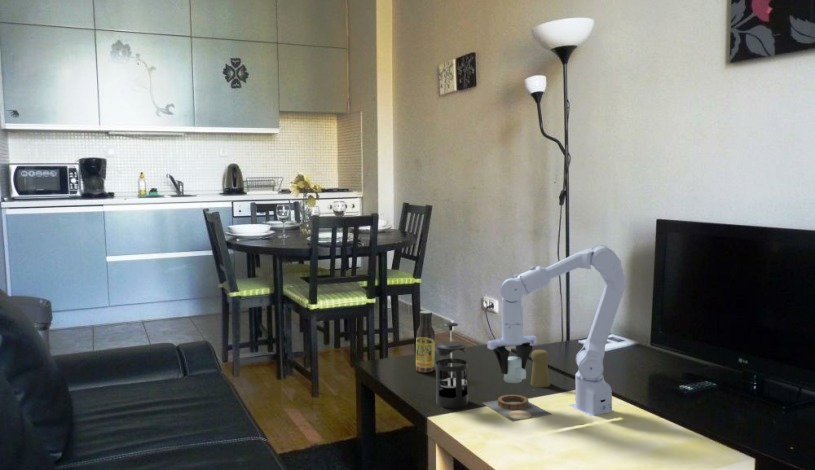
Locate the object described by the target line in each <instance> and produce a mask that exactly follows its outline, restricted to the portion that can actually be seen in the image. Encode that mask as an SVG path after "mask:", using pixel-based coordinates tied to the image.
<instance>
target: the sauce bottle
mask: <svg viewBox="0 0 815 470" xmlns="http://www.w3.org/2000/svg"><path fill="white" fill-rule="evenodd" d="M419 317H420V321H419V326H418V328H417V330H416V338H415V339H416V340H415V341H416V342H415V369H416V371H417V372H419V373H422V374H423V373H424V374H425V373H431V372H433V371H434V370H435V362H436V360H435V358H436V355H435V352H436V349H435V348H436V347H435V345H436V338H435V336H436V332H435V329H434V328H433V326H432V325H433V324H432V317H433V312H432V311H431V310H421V311H419Z"/></svg>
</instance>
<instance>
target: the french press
mask: <svg viewBox="0 0 815 470" xmlns="http://www.w3.org/2000/svg"><path fill="white" fill-rule="evenodd" d="M443 326H444V327H448V330H449V335H450V337H449V340H450V341H443V342H438V343H435V348H436V354H437V355H439V356H443V357H441V358H439V359H438V360H435V366H434V369H435V379H436V380H435V383H436V384H435V386H436V388H435V390H436V391H435V401H436V402H435V403H436V405H437V406H438V407H442V408H447V409H459V408H463V407H466V406H468V404H469V390H468V367H469V366H468V363H469V362H468V361H467V360H466V359H463V358H456V357H455V358H453V352H455V351H462V352H463V353H464V354H466V353H467V352H466V349H467V347H468V343H466V342H462V341H453V339H452V335H453V334H452V331H453V327H457V326H459V324H458V323H456V322H445V323H443ZM448 355H450V357H449V358H445V357H446V356H448ZM449 364H450V366H449ZM453 364H460V365H458V366H453ZM462 371H463V374H462ZM449 372H450V377H449ZM453 372H455V377H453ZM462 375H463V376H462Z"/></svg>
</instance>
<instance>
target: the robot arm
mask: <svg viewBox="0 0 815 470" xmlns="http://www.w3.org/2000/svg"><path fill="white" fill-rule="evenodd" d="M591 266H592V267H594V269H595V270H597V272H598V273H600V276H601V279H603V281H604V283H605V285H604V287H603V291H602V294H601V296H600V300H599V303H598V306H597V309H596V312H595V315H594V318H593V322H592V323H591V326H590V330H589V333H588V336H587V338H586V340H585V341H584V343H583V345H582V348H581V349H580V350H579V351H578V352H577V354H576V355H575V363H576V365H577V367H578V370H577V372H576V373H575V374H574V375H575V378H574V379H575V381H574V382H575V403H572V404H568V406H569V407H571V408H573V409H575V410H578V411H579V412H581V413H583V414H585V415H588V416H590V417H593V416H599V415H604V414H609V413H615V410H614V409H613V389H612V387H611V386H610V384H609V383H607V381H606V380H605V379H604V374H603V373H604V364H603V363H604V362H603V361H604V357H605V352H606V345H607V342H608V340H609V336H610V333H611V331H612V330H611V329H612V327H613V324H614V321H615V319H616V315H617V312H618V310H619V306H620V304H621V302H622V301H621V300H622V297H623V294H624V292H625V288H626V285H627V279H626V277H625V273H624V269H623V267H622V262H621V260H620V258H619V256H618V254H616V253H615V251H614V250H612V249H611V248H609V247H608V246H606V245H603V244H598V245H595V246H593V247H592V248H590V247H589V248H586V249H583V250H580V251H578V252H575V253H574V254H572V255H569V256H567V257H566V258H563V259H561V260H560V261H557V262H556V263H553V264H551V265H549V266H547V267H543V266H540V265H537V266H535V265H532V266H531V267H529V270H526V271H525V272H522V273H520V274H518V273H516V274H514V275H513V278H512V277H510V278H507V279H505V280H504V281H503V282H502V284H501V287H500V294H501V296H502V298H501V306H500V307H501V308H500V309H501V311H500V312H501V313H500V314H501V316H500V317H501V337H500V338H497V339H496V338H495V339H491V340H487V341H486V344H487V345H486V346H487V349H489V350H490V351H493V353H494V355H495V356H496V359H497V361H498V362H497V363H498V364H499V368H500V373H501V374H503V375H504V374H507V373H508V357H510V356H509V355H510V353H511V352H510V350H507V348H508V347H509V348H510V347H514V346H515V348H516V357H520V358H521V359H522V368H523V369H525V370H526V366H527V365H526V364H527V362H528V359H529V357H530V356H531V354H532V352H533V347H534V346H533V345H535V344H537V343H538V336H535V335H532V334H531V335H524V323H523V322H524V318H523V317H524V316H523V315H524V314H523V313H524V312H523V310H524V309H523V305H522V297H523V296H524V295H526V296H527V295H529V294H531V293H535V292H536V291H540V290H541V289H543V288H545V287H548V286H549V284H550V281H551V279H554V278H557V277H558V276H562V275H563V274H566V273H569V272H571V271H573V270H576V269H579V268H580V269H587V270H591V269H592V267H591ZM532 344H533V345H532Z"/></svg>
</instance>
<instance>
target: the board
mask: <svg viewBox="0 0 815 470" xmlns="http://www.w3.org/2000/svg"><path fill="white" fill-rule="evenodd" d="M482 404H483V405H484V406H486V407H487V408H489V409H490V410H492V411H494V412H495V413H497V414H499V415H501V416H502V417H504V418H506V419H508V420H509V421H511V422H518V421H523V420H530V419H533V418H540V417H544V416H546V417H547V416H549V415H550V416H551V415H552V413H551V412H549V411H547V410H545V409H543V408H541V407H539V406H537V405H535V404H534V403H532V402H530V401H529V398H528V397H526V396H524V395H520V394H505V395H504V394H503V395H501V396H499V397H498V398H497V399H495V400H490V401H484V402H482Z"/></svg>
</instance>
